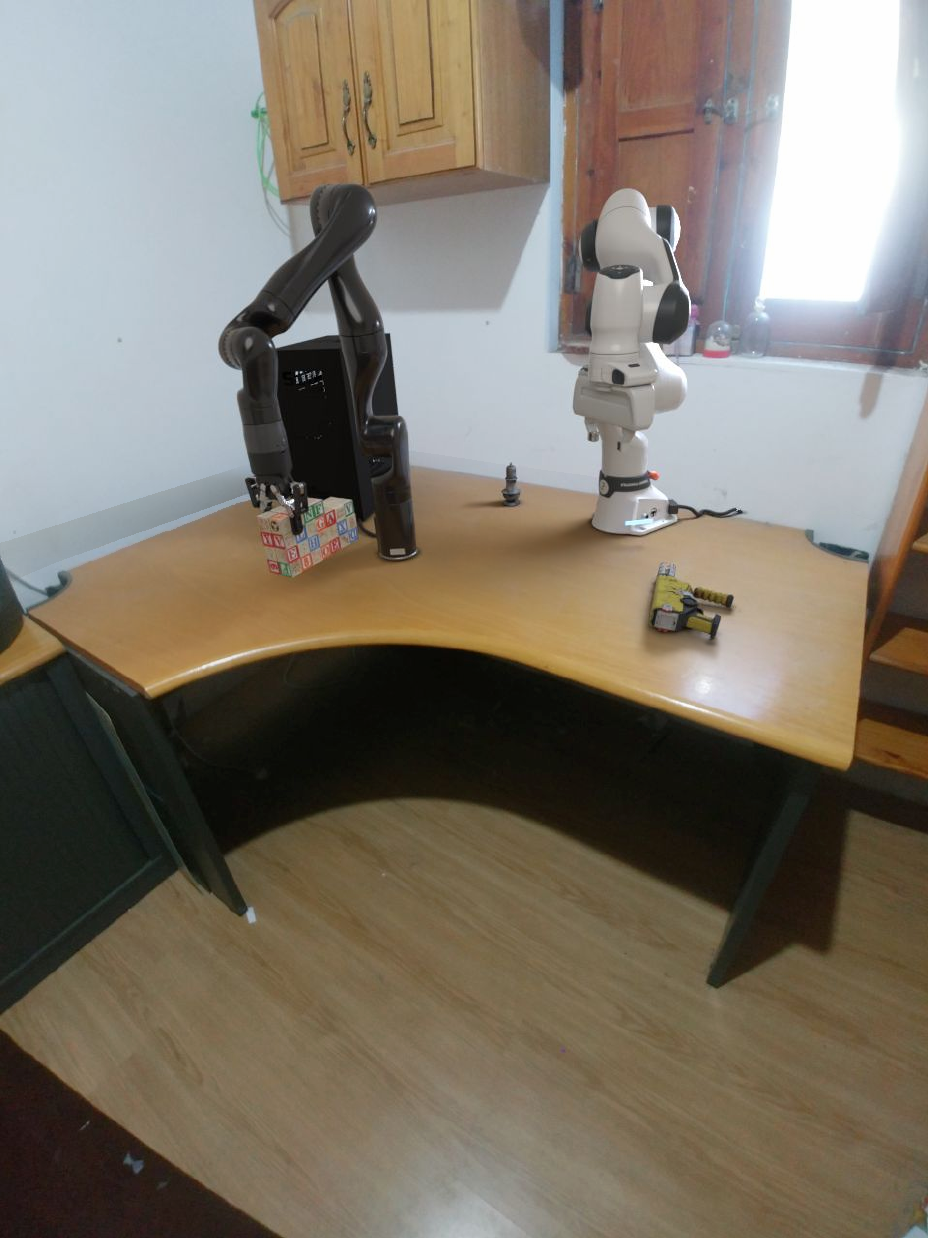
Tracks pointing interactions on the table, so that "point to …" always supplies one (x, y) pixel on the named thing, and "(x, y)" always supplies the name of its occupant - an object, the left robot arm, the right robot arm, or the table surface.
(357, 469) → the black computer tower
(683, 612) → the toy gun
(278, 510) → the stack of blocks
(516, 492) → the grey chess piece
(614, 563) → the table surface
